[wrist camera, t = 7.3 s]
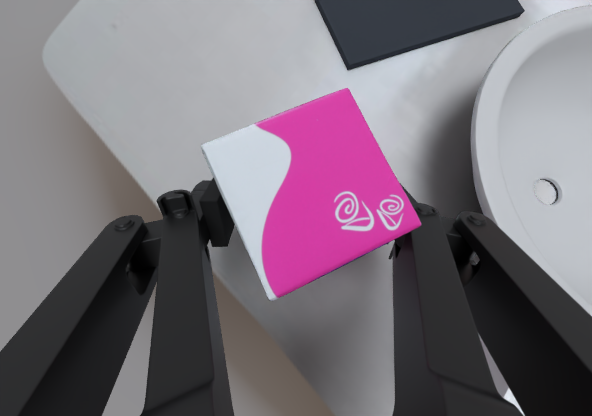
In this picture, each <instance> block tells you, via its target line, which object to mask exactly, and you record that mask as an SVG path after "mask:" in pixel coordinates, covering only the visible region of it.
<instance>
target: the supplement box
mask: <svg viewBox="0 0 592 416" xmlns="http://www.w3.org/2000/svg"><path fill="white" fill-rule="evenodd" d="M201 149H202V152H203V154H204V156H205V159H206V161H207V164H208V166H209V168H210V170H211V173H212V175H213V177H214V179H215V181H216V184H217V186H218V188H219V190H220V193H221V195H222V197H223V199H224V202H225V204H226V206H227V208H228V210H229V213H230V215H231V217H232V219H233V221H234V224H235V226H236V228H237V230H238V233H239V235H240V237H241V239H242V241H243V244H244V246H245V248H246V250H247V252H248V254H249V257H250V259H251V261H252V263H253V265H254V268H255V270H256V272H257V274H258V276H259V278H260V281H261V283H262V285H263V287H264V289H265V292H266V295H267V297H268V299H269V301H273V300H276V299H278V298H280V297H282V296H284V295H286V294H288V293H290V292H292V291H294V290H296V289H298V288H300V287H302V286H304V285H306V284H308V283H310V282H312V281H314V280H316V279H318V278H320V277H322V276H324V275H326V274H328V273H330V272H332V271H334V270H336V269H338V268H340V267H342V266H344V265H346V264H348V263H349V262H351V261H353V260H355V259H357V258H359V257H361V256H363V255H365V254H367V253H369V252H371V251H373V250H375V249H377V248H379V247H381V246H383V245H385V244H387V243H389V242H390V241H392V240H394V239H396V238H398V237H400V236H402V235H404V234H406V233H408V232H410V231H412V230H414V229H416V228H418V227H420V226H421V222H420V220H419V218H418V216H417V214H416V212H415V210H414V208H413V206H412V204H411V203H410V201H409V199H408V197H407V195H406V193H405V192H404V190H403V188H402V187H401V185H400V183H399V181H398V180H397V178H396V176H395V175H394V173H393V171H392V169H391V168H390V166H389V164H388V162H387V160H386V159H385V157H384V155H383V153H382V151H381V149H380V147H379V145H378V143H377V142H376V140H375V138H374V136H373V134H372V132H371V130H370V128H369V126H368V125H367V123H366V121H365V119H364V117H363V115H362V113H361V111H360V109H359V107H358V105H357V103H356V102H355V100H354V98H353V96H352V94H351V92H350V90H349V89H348V88H345V89H342V90H339V91H336V92H334V93H331V94H328V95H326V96H323V97H320V98H318V99H315V100H312V101H310V102H308V103H305V104H302V105H300V106H297V107H294V108H292V109H289V110H287V111H284V112H282V113H279V114H277V115H275V116H272V117H270V118H267V119H264V120H262V121H259V122H257V123H254V124H252V125H249V126H247V127H245V128H242V129H240V130H237V131H235V132H232V133H230V134H228V135H225V136H222V137H220V138H217V139H215V140H212V141H209V142H207V143H204V144H202V145H201Z"/></svg>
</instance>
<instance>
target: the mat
mask: <svg viewBox="0 0 592 416" xmlns="http://www.w3.org/2000/svg"><path fill="white" fill-rule="evenodd" d="M315 2H316V4H317V6H318V8H319V10H320V12H321V14H322V17H323V19H324V21H325V23H326V25H327V27H328V29H329V31H330V33H331V35H332V37H333V40H334V42H335V44H336V46H337V48H338V50H339V52H340V54H341V56H342V58H343V61H344V63H345V65H346V67H347V69H348V70H349V69H352V68H355V67H359V66H362V65H365V64H368V63H371V62H375V61H378V60H381V59H384V58H388V57H391V56H394V55H397V54H400V53H404V52H407V51H410V50H413V49H416V48H420V47H423V46H426V45H429V44H433V43H436V42H439V41H442V40H445V39H449V38H452V37H455V36H458V35H461V34H465V33H468V32H471V31H474V30H477V29H481V28H484V27H487V26H490V25H494V24H497V23H500V22H503V21H506V20H510V19H513V18H516V17H519V16H520V15H521V14H522V13H523V12H524V11H525V10H524V9H523V7H522V6H521V4H520V3H519V1H518V0H315Z"/></svg>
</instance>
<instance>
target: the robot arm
mask: <svg viewBox="0 0 592 416" xmlns="http://www.w3.org/2000/svg"><path fill="white" fill-rule="evenodd" d="M400 185H401V184H400ZM401 187H402V188H403V190H404V192H405V193H406V195H407V197H408V199H409V201H410V203H411V204H412V206H413V208H414V210H415V212H416V214H417V216H418V218H419V220H420V222H421V226H420V227H418V228H416V229H414V230H412V231H410V232H408V233H406V234H404V235H402V236H400V237H398V238H396V239H394V240H395V243H394V245H393V248H392V250H391V253H390V256H389V259H391V258H392V256H393V310H394V370H395V406H394V412H393V416H523V414H522V413H521V412H520V411H519V409H518V408H517V407H516V406H515V405H514V404H512V403H511V402H509V401H507V400H506V399H504V398H502V397H501V395H500V394H499V393H498V391H497V389H496V386H495V384H494V381H493V378H492V375H491V372H490V369H489V366H488V362H487V359H486V356H485V353H484V350H483V347H482V344H481V341H480V338H479V335H480V337H481V339H482V341H483V342H484V344H485V346H486V348H487V349H488V351H489V353H490V355H491V357H492V358H493V360H494V362H495V364H496V365H497V367H498V369H499V371H500V373H501V374H502V376H503V378H504V380H505V381H506V383H507V385H508V387H509V388H510V390H511V392H512V394H513V396H514V397H515V399H516V401H517V403H518V404H519V406H520V408H521V410H522V411H523V413H524V415H525V416H592V316H591V315H590V314H589V313H588V312H587V311H586V310H585V309H584V308H583V307H582V306H581V305H580V304H578V303H577V302H576V301H575V300H574V299H573V298H572V297H571V296H570V295H569V294H568V293H567V292H566V291H565V290H564V289H563V288H562V287H561V286H560V285H559V284H558V283H557V282H556V281H555V280H554V279H552V278H551V277H550V276H549V275H548V274H547V273H546V272H545V271H544V270H543V269H542V268H541V267H540V266H539V265H538V264H537V263H536V262H535V261H534V260H533V259H532V258H531V257H530V256H529V255H527V254H526V253H525V252H524V251H523V250H522V249H521V248H520V247H519V246H518V245H517V244H516V243H515V242H514V241H513V240H512V239H511V238H510V237H509V236H508V235H507V234H506V233H505V232H504V231H502V230H501V229H500V228H499V227H498V226H497V225H496V224H495V223H494V222H493V221H492V220H491V219H489V218H488V217H486V216H484V215H483V214H480V213H477V212H471V211H462V212H460V213H459V215H458V216H457V218H456V219H452V218H447V217H441V216H440V214H439V213H438V211H437V210H436V209H434V208H433V207H431V206H428V205H425V204H422V203H417V202H416V201H415V199H414V198H413V197H412V196H411V195H410V194H409V193H408V192H407V191H406V189H404V187H403V186H402V185H401ZM157 203H158V205H159V208H160V210H161V213H162V215H163V220H158V221H153V222H148V223H144V221H143V219H142V217H140V216H138V215H130V216H124V217H120V218H118V219H116V220H114V221H112V222H111V223H109V224H108V225H107V226H106V227H105V228H104V230H103V231H102V232H101V233H100V234H99V236H98V237H97V238H96V239H95V240H94V241H93V243H92V244H91V245H90V246H89V247H88V249H87V250H86V251H85V252H84V253H83V254H82V256H81V257H80V258H79V259H78V260H77V262H76V263H75V264H74V265H73V266H72V267H71V269H70V270H69V271H68V272H67V273H66V275H65V276H64V277H63V278H62V280H61V281H60V282H59V283H58V284H57V285H56V287H55V288H54V289H53V290H52V291H51V292H50V294H49V295H48V296H47V297H46V299H45V300H44V301H43V302H42V303H41V304H40V306H39V307H38V308H37V309H36V310H35V311H34V313H33V314H32V315H31V316H30V317H29V318H28V320H27V321H26V322H25V323H24V325H23V326H22V327H21V328H20V329H19V330H18V332H17V333H16V334H15V335H14V336H13V337H12V339H11V340H10V341H9V342H8V343H7V345H6V346H5V347H4V348H3V349H2V350H1V352H0V416H102V413H103V411H104V409H105V406H106V404H107V402H108V399H109V397H110V394H111V392H112V389H113V387H114V384H115V382H116V379H117V377H118V375H119V372H120V370H121V367H122V365H123V363H124V360H125V358H126V355H127V352H128V350H129V348H130V346H131V343H132V341H133V338H134V336H135V333H136V331H137V329H138V326H139V324H140V321H141V319H142V316H143V314H144V311H145V309H146V307H147V304H148V302H149V299H150V297H151V295H152V292H153V289H154V287H155V285H156V282H157V287H156V297H155V308H154V317H153V328H152V337H151V347H150V357H149V368H148V378H147V388H146V398H145V404H144V409H143V412H142V414H141V415H140V416H234V412H233V407H232V401H231V394H230V387H229V380H228V374H227V368H226V361H225V354H224V347H223V341H222V334H221V328H220V321H219V315H218V308H217V301H216V294H215V288H214V282H213V275H212V268H211V261H210V255H209V250H208V247H207V245H208V242H209V240H210V241H211V244H212V247H228V244H229V241H230V238H231V234H232V231H233V228H234V225H235V224H234V221H233V219H232V217H231V215H230V213H229V210H228V208H227V206H226V204H225V202H224V199H223V197H222V195H221V193H220V190H219V188H218V186H217V184H216V181H215V179H214V177H213V179H212V181H202V182H200V183H199V184H197V185H196V186H195V188H194V189H193V191H192V192H191V193H190V192H189V191H187V190H174V191H170V192H167V193H165V194H163V195H161V196H160V197H159V198H158V199H157ZM387 244H388V243H387ZM476 254H477V256H478V257H479V259H480V261H479V262H478V264H475V263H474V261H473V260H472V259H473V258H474V256H475V255H476ZM478 334H479V335H478Z"/></svg>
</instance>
